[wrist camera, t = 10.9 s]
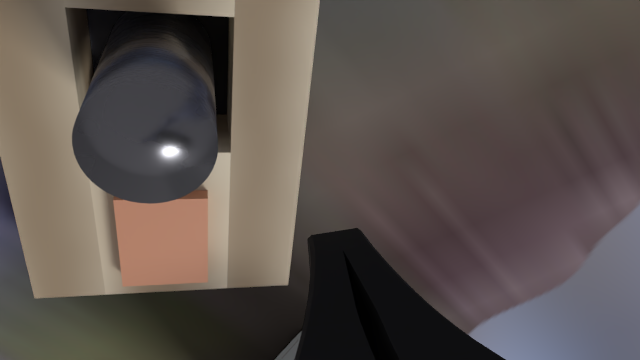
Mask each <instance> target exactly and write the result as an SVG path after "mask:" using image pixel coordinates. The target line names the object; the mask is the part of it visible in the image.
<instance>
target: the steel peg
mask: <svg viewBox="0 0 640 360" xmlns="http://www.w3.org/2000/svg"><path fill="white" fill-rule="evenodd" d="M72 147H73V151H74V155H75V158H76V160H77V162H78V164H79V166H80V168H81V169H82V171H83V172H84V173H85V175H86V176H87V177H88V178H89V179H90V180H91V181H92V182H93V183H94V184H95V185H97V186H98V187H99V188H101V189H102V190H104V191H105V192H107V193H109V194H111V195H113V196H115V197H118V198H120V199H123V200H127V201H131V202H136V203H147V204H152V203H163V202H168V201H172V200H176V199H178V198H181V197H184V196H185V195H187V194H189V193H191V192H192V191H194V190H195V189H197V188H198V187H199V186H200V185H201V184H202V183H203V182H204V181H205V180H206V179H207V178H208V176H209V175H210V173H211V172H212V170H213V168H214V165H215V163H216V159H217V154H218V136H217V120H216V105H215V89H214V73H213V58H212V46H211V42H210V39H209V36H208V34H207V32H206V30H205V28H204V27H203V25H202V24H201V23H200V21H199V20H198V19H197V18H196V17H195V16H194V15H188V14H171V13H154V12H136V11H126V12H125V13H124V14H123V15H122V16H121V17H120V18H119V19H118V20H117V22H116V23H115V25H114V27H113V29H112V32H111V34H110V36H109V39H108V41H107V44H106V46H105V49H104V51H103V54H102V56H101V59H100V61H99V64H98V66H97V68H96V71H95V73H94V76H93V78H92V81H91V83H90V86H89V88H88V91H87V93H86V95H85V98H84V100H83V103H82V105H81V108H80V110H79V113H78V115H77V118H76V120H75V123H74V127H73V131H72Z"/></svg>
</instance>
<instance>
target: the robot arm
mask: <svg viewBox="0 0 640 360" xmlns="http://www.w3.org/2000/svg"><path fill="white" fill-rule="evenodd" d="M308 252H309V265H310V284H309V295H308V301H307V307H306V313H305V318H304V324H303V328H302V333H301V337H300V341H299V345H298V348H297V352H296V356H295V359H294V360H505V359H504V358H502V357H501V356H499V355H497V354H496V353H494V352H493V351H491V350H490V349H488V348H487V347H485V346H483V345H482V344H480V343H479V342H477V341H476V340H474V339H473V338H471V337H470V336H469V335H467V334H466V333H465V332H463V331H462V330H460V329H459V328H458V327H456V326H455V325H454V324H453V323H451V322H450V321H449V320H447V319H446V318H445V317H444V316H442V315H441V314H440V313H439V312H438V311H436V310H435V309H434V308H433V307H432V306H431V305H429V304H428V303H427V302H426V301H425V300H424V299H423V298H422V297H421V296H420V295H419V294H417V293H416V292H415V291H414V290H413V289H412V288H411V287H410V286H409V285H408V284H407V283H406V282H405V281H404V280H403V279H402V278H401V277H400V276H399V275H398V274H397V273H396V272H395V270H394V269H393V268H392V267H391V266H390V265H389V264H388V263H387V262H386V261H385V260H384V258H383V257H382V256H381V255H380V254H379V253H378V251H377V250H376V249H375V248H374V247H373V245H372V244H371V243H370V242H369V240H368V239H367V238H366V237H365V235H364V234H363V233H362V231H361V230H359V229H358V228H354V229H348V230H341V231H335V232H329V233H322V234H316V235H311V236H310V237H309V238H308Z"/></svg>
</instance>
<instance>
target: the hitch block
mask: <svg viewBox="0 0 640 360" xmlns="http://www.w3.org/2000/svg"><path fill="white" fill-rule="evenodd" d="M319 3H320V0H0V157H1V161H2V165H3V169H4V173H5V178H6V182H7V186H8V190H9V194H10V198H11V202H12V207H13V211H14V215H15V219H16V223H17V227H18V231H19V236H20V240H21V244H22V248H23V252H24V256H25V260H26V265H27V269H28V273H29V277H30V281H31V285H32V289H33V293H34V298H51V297H70V296H89V295H108V294H127V293H146V292H165V291H184V290H203V289H222V288H240V287H259V286H278V285H288V281H289V272H290V263H291V254H292V245H293V236H294V227H295V218H296V209H297V201H298V192H299V183H300V174H301V165H302V156H303V147H304V138H305V129H306V120H307V111H308V102H309V93H310V84H311V75H312V66H313V57H314V48H315V39H316V30H317V21H318V12H319ZM86 9H102V10H119V11H136V12H154V13H171V14H188V15H206V16H223V17H229V36H228V81H227V115H216V120H217V136H218V154H217V159H216V163H215V165H214V168H213V170H212V172H211V173H210V175H209V176H208V178H207V179H206V180H205V181H204V182H203V183H202V184H201V185H200V186H199V187H198V188H197V189H195V190H208V282H205V283H185V284H165V285H145V286H125V287H123V285H122V276H121V267H120V258H119V248H118V239H117V230H116V221H115V212H114V203H113V199H114V196H113V195H111V194H109V193H107V192H105V191H104V190H102V189H101V188H99V187H98V186H97V185H95V184H94V183H93V182H92V181H91V180H90V179H89V178H88V177H87V176H86V175H85V173H84V172H83V171H82V169H81V168H80V166H79V164H78V162H77V160H76V158H75V155H74V151H73V147H72V131H73V127H74V123H75V120H76V118H77V115H78V113H79V110H80V108H81V105H82V103H83V100H84V98H85V95H86V93H87V91H88V88H89V86H90V83H91V81H92V78H93V76H94V68H93V60H92V52H91V43H90V35H89V27H88V19H87V10H86Z"/></svg>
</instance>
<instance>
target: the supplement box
mask: <svg viewBox="0 0 640 360" xmlns="http://www.w3.org/2000/svg"><path fill="white" fill-rule="evenodd" d="M301 333H302V331H301V332H300V333H299V334H298V335H297V336H296V337H295V338H294V339H293V340H292V341H291V342H290V343H289V344H288V345H287V347H286V348H285V349H284V350H283V351H282V352H281V353H280V354H279V355H278V356H277V357H276V359H275V360H294V359H295V356H296V352H297V348H298V345H299V341H300V337H301Z"/></svg>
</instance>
